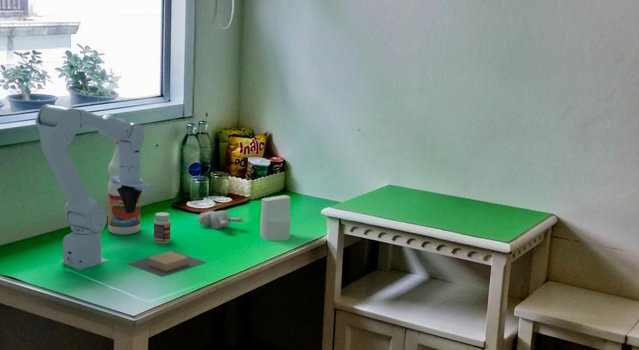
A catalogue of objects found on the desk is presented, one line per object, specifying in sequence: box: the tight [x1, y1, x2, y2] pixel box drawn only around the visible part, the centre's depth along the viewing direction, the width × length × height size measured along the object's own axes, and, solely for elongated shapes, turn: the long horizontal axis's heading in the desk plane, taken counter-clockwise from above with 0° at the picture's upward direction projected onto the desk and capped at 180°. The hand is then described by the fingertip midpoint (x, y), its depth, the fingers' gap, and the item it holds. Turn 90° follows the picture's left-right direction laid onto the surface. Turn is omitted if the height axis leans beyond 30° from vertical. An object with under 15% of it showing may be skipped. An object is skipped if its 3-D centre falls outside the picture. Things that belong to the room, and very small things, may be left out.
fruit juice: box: [107, 139, 141, 236], centre depth 250 cm, size 9×9×28 cm
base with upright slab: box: [259, 194, 291, 242], centre depth 253 cm, size 9×9×12 cm
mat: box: [127, 250, 208, 278], centre depth 225 cm, size 16×14×1 cm
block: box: [147, 250, 189, 271], centre depth 223 cm, size 8×2×7 cm
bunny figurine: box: [197, 210, 244, 230], centre depth 261 cm, size 10×5×15 cm
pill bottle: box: [153, 212, 171, 244], centre depth 243 cm, size 5×5×8 cm
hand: (130, 212), depth 235 cm, fingers closed
